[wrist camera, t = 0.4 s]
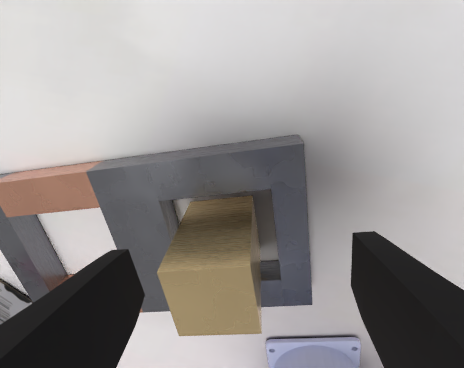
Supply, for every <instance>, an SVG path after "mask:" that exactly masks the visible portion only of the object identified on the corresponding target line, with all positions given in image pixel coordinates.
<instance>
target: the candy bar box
mask: <svg viewBox="0 0 464 368" xmlns="http://www.w3.org/2000/svg"><path fill="white" fill-rule="evenodd" d="M32 303H33V301H32V300H30V299H29V298H27V297H26V296H24V295H23V294H21V293H20V292H18V291H17V290H15V289H14V288H12V287H11V286H9V285H8V284H7V283H5V282H3V281H1V280H0V324H2V323H3V322H5V321H6V320H8V319H9V318H11V317H12V316H14V315H15V314H17V313H18V312H20V311H22V310H23V309H25V308H26V307H28V306H29V305H31V304H32Z"/></svg>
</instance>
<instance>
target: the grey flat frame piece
mask: <svg viewBox="0 0 464 368" xmlns="http://www.w3.org/2000/svg"><path fill="white" fill-rule="evenodd" d="M267 189H271V192H272V201H273V210H274V219H275V228H276V237H277V246H278V255H279V260H278V261H264V262H260V275H261V307H274V306H297V305H312V288H311V270H310V251H309V232H308V213H307V194H306V176H305V157H304V143H303V141H302V140H301V138H300V136H299V135H291V136H284V137H276V138H269V139H261V140H254V141H247V142H239V143H232V144H224V145H217V146H209V147H202V148H194V149H187V150H179V151H172V152H165V153H157V154H150V155H142V156H135V157H127V158H120V159H112V160H105V161H97V162H90V163H83V164H75V165H68V166H60V167H53V168H45V169H38V170H30V171H23V172H15V173H8V174H1V175H0V250H1V251H2V253H3V255H4V256H5V258H6V259H7V261H8V263H9V264H10V266H11V267H12V269H13V271H14V272H15V274H16V275H17V277H18V279H19V280H20V282H21V283H22V285H23V287H24V288H25V290H26V291H27V293H28V295H29V296H30V298H31V300H32V301H33V303H34V302H35V301H37V300H38V299H40V298H41V297H43V296H44V295H46V294H47V293H49V292H50V291H51V290H53V289H54V288H56V287H57V286H59V285H60V284H62V283H63V282H64V281H66V280H67V279H69V278H70V277H72V276H73V275H67V274H66V272H65V270H64V268H63V266H62V264H61V262H60V260H59V258H58V257H57V255H56V253H55V251H54V249H53V247H52V245H51V243H50V241H49V239H48V237H47V236H46V234H45V232H44V230H43V228H42V226H41V224H40V222H39V220H38V218H37V216H36V215H35V214H42V213H52V212H61V211H70V210H80V209H89V208H98V207H100V208H101V210H102V213H103V215H104V218H105V220H106V223H107V225H108V228H109V230H110V233H111V235H112V237H113V240H114V242H115V245H116V247H117V250H121V249H128V250H129V252H130V255H131V258H132V260H133V263H134V266H135V269H136V271H137V274H138V277H139V280H140V282H141V285H142V288H143V290H144V293H145V297H144V300H143V303H142V307H141V310H140V312H161V311H170V309H169V306H168V303H167V300H166V297H165V294H164V291H163V289H162V286H161V283H160V280H159V277H158V274H157V271H158V269H159V267H160V265H161V263H162V260H163V258H164V256H165V254H166V252H167V250H168V248H169V246H170V244H171V242H172V240H173V238H174V235H175V233H176V231H177V229H178V227H179V224H178V220H177V216H176V213H175V209H174V206H173V202H172V200H173V199H183V198H192V197H201V196H211V195H220V194H229V193H239V192H248V191H257V190H267Z"/></svg>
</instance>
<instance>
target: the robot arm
mask: <svg viewBox="0 0 464 368" xmlns="http://www.w3.org/2000/svg"><path fill="white" fill-rule="evenodd" d="M351 287H352V290H353V293H354V297H355V300H356V303H357V306H358V309H359V312H360V315H361V318H362V320H363V322H364V325H365V327H366V329H367V331H368V333H369V336H370V338H371V340H372V342H373V344H374V346H375V349H376V351H377V353H378V355H379V357H380V359H381V362H382V364H383V366H384V368H464V290H462V289H461V288H459V287H458V286H456V285H454V284H453V283H451V282H450V281H448V280H447V279H445V278H443V277H442V276H440V275H439V274H437V273H436V272H434V271H433V270H431V269H430V268H428V267H427V266H425V265H424V264H422V263H421V262H419V261H418V260H416V259H415V258H413V257H412V256H410V255H409V254H407V253H406V252H404V251H403V250H402V249H400V248H399V247H397V246H396V245H394V244H393V243H391V242H390V241H388V240H387V239H385V238H384V237H382V236H381V235H379V234H378V233H376V232H375V231H373V232H359V233H353V240H352V269H351ZM144 297H145V293H144V290H143V288H142V285H141V282H140V280H139V277H138V274H137V271H136V269H135V266H134V263H133V260H132V258H131V255H130V252H129V250H128V249H121V250H111V251H109V252H108V253H106V254H104V255H103V256H101V257H99V258H98V259H96V260H95V261H93V262H92V263H90V264H89V265H87V266H86V267H85V268H83V269H82V270H80V271H79V272H77V273H76V274H74V275H73V276H72V277H70V278H69V279H67V280H66V281H64V282H63V283H62V284H60V285H59V286H57V287H56V288H54V289H53V290H51V291H50V292H49V293H47V294H46V295H44V296H43V297H41V298H40V299H38V300H37V301H35V302H34V303H32V304H31V305H29V306H28V307H26V308H25V309H23V310H22V311H20V312H18V313H17V314H15V315H14V316H12V317H11V318H9V319H8V320H6V321H5V322H3V323H2V324H0V368H116V367H117V365H118V362H119V360H120V358H121V356H122V354H123V352H124V350H125V347H126V345H127V343H128V341H129V339H130V336H131V334H132V332H133V330H134V327H135V325H136V322H137V319H138V316H139V313H140V310H141V307H142V303H143V300H144ZM360 350H361V343H360V341H359V339H358V338H356V337H337V338H300V339H269V340H267V341H266V351H267V357H268V364H269V368H360Z"/></svg>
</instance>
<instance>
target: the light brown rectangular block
mask: <svg viewBox="0 0 464 368" xmlns="http://www.w3.org/2000/svg"><path fill="white" fill-rule="evenodd" d="M157 274H158V277H159V280H160V283H161V286H162V289H163V291H164V294H165V297H166V300H167V303H168V306H169V309H170V311H171V314H172V317H173V320H174V323H175V326H176V329H177V331H178V334H179V336H198V335H231V334H262V331H261V275H260V244H259V237H258V230H257V223H256V216H255V209H254V202H253V195H251V196H241V197H232V198H222V199H213V200H203V201H194V202H190V204H189V206H188V208H187V210H186V213H185V215H184V217H183V219H182V221H181V223H180V225H179V227H178V229H177V231H176V233H175V235H174V238H173V240H172V242H171V244H170V246H169V248H168V250H167V252H166V254H165V256H164V258H163V260H162V263H161V265H160V267H159V269H158V271H157Z"/></svg>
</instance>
